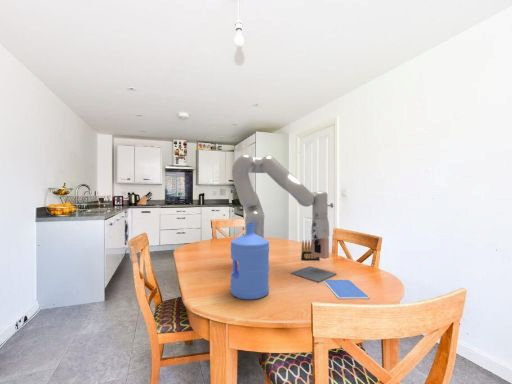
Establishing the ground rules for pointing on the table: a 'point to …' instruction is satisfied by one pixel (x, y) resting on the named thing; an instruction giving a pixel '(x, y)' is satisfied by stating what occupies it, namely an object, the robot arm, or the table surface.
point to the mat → (314, 274)
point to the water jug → (250, 265)
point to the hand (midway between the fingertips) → (319, 251)
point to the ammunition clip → (310, 258)
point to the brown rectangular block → (324, 248)
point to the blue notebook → (345, 289)
